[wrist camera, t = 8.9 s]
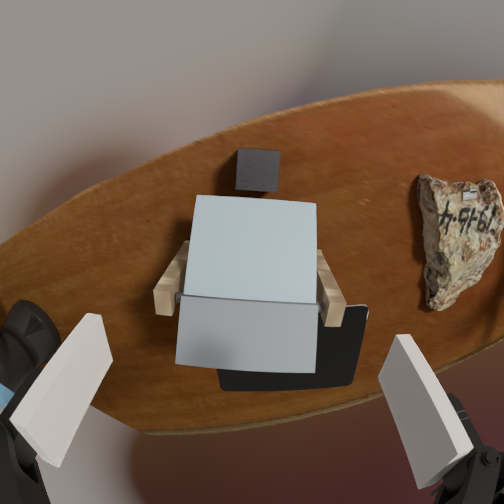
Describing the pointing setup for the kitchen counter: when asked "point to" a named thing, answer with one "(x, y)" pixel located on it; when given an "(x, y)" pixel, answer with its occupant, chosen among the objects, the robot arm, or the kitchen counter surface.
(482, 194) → the stone
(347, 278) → the kitchen counter surface
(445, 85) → the kitchen counter surface
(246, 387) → the tablet
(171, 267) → the frame
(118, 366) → the kitchen counter surface
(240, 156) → the block
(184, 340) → the trapdoor
